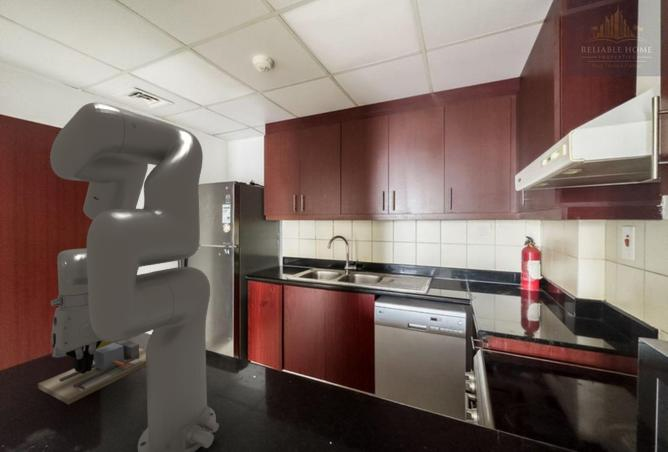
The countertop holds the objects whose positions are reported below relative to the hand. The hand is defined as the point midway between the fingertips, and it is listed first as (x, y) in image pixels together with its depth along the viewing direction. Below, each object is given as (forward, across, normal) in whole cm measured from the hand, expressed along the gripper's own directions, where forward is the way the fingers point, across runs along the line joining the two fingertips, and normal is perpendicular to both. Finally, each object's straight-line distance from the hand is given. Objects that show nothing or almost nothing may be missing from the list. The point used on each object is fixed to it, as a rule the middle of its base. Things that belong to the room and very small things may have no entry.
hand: (84, 370), depth 65 cm
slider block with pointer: (+1, +5, -2) cm, 6 cm away
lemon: (+3, +10, +12) cm, 16 cm away
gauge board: (+3, +4, 0) cm, 5 cm away
